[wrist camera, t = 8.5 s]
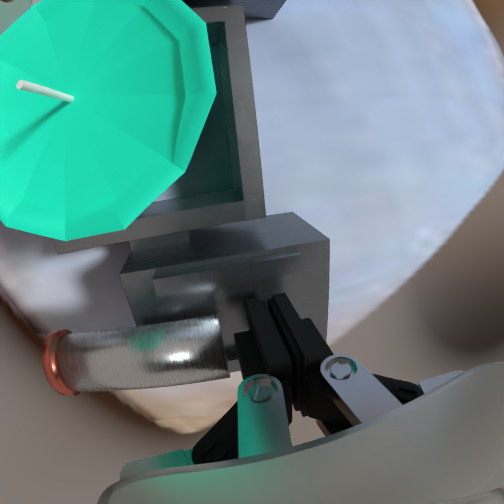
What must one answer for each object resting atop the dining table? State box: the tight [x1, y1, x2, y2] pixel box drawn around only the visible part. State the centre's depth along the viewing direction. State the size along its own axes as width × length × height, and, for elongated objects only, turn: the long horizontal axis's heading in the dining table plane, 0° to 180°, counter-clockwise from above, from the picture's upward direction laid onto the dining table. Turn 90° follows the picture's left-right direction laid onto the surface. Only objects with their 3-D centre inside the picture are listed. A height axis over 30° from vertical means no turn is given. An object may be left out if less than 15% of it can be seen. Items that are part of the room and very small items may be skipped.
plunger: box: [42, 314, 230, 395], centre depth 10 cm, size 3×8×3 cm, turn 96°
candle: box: [0, 0, 217, 241], centre depth 8 cm, size 6×6×12 cm
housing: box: [53, 0, 330, 372], centre depth 11 cm, size 24×13×6 cm, turn 6°
